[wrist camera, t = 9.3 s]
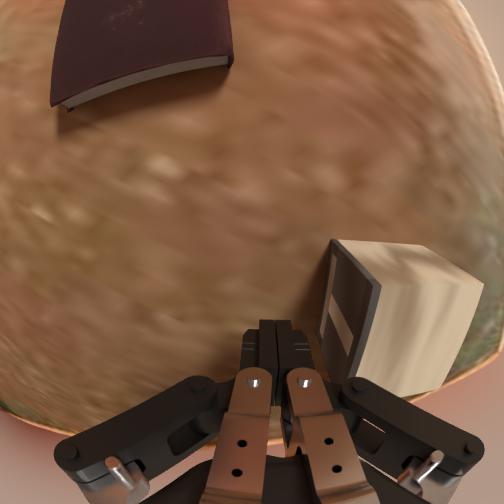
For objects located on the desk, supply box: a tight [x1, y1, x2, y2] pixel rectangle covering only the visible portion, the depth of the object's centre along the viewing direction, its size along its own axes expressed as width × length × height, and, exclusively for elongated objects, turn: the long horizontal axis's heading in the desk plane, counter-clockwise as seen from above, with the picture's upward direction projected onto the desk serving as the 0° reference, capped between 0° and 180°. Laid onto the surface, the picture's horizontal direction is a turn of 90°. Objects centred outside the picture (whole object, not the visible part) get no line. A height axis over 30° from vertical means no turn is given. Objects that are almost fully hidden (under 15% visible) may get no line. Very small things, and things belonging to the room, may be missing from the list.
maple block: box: [317, 239, 484, 397], centre depth 14 cm, size 7×7×7 cm
